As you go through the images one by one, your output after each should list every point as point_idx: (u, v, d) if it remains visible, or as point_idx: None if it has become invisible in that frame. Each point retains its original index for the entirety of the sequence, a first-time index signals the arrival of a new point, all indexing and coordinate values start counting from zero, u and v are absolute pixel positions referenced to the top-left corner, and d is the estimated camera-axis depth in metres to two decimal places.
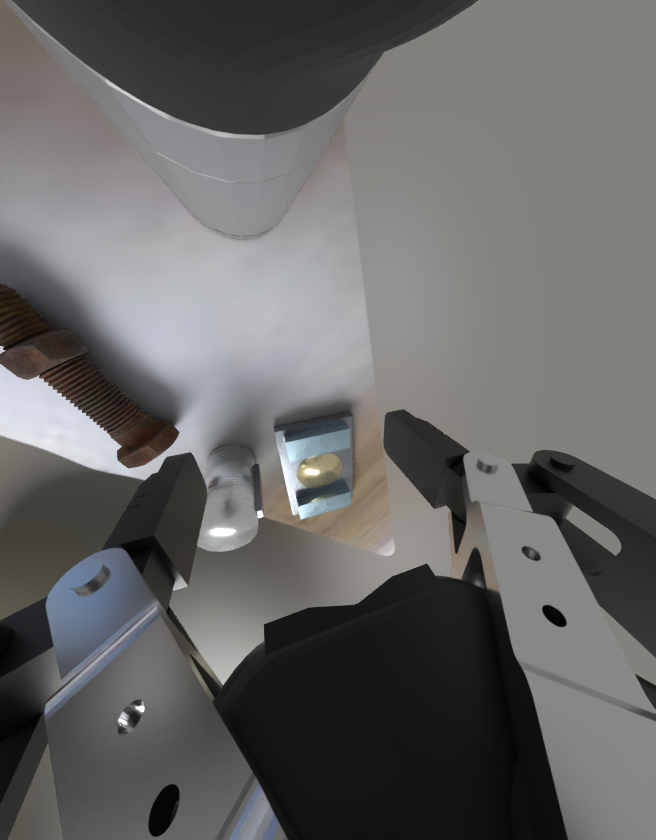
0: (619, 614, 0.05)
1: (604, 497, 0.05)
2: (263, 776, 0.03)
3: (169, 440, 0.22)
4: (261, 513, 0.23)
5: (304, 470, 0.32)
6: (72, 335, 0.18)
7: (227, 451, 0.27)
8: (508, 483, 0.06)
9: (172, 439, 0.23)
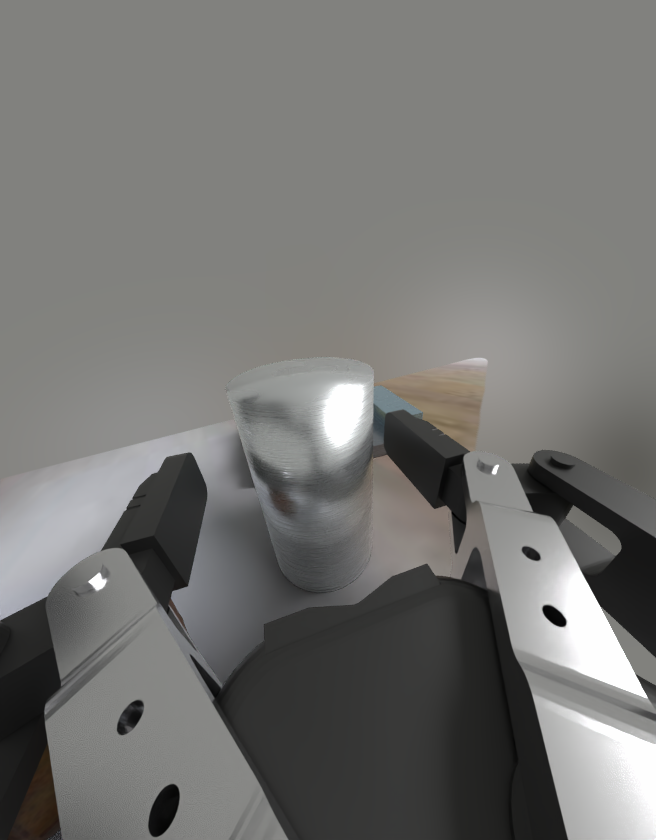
0: (619, 614, 0.05)
1: (604, 497, 0.05)
2: (263, 776, 0.03)
3: None
4: None
5: None
6: None
7: None
8: (508, 483, 0.06)
9: None
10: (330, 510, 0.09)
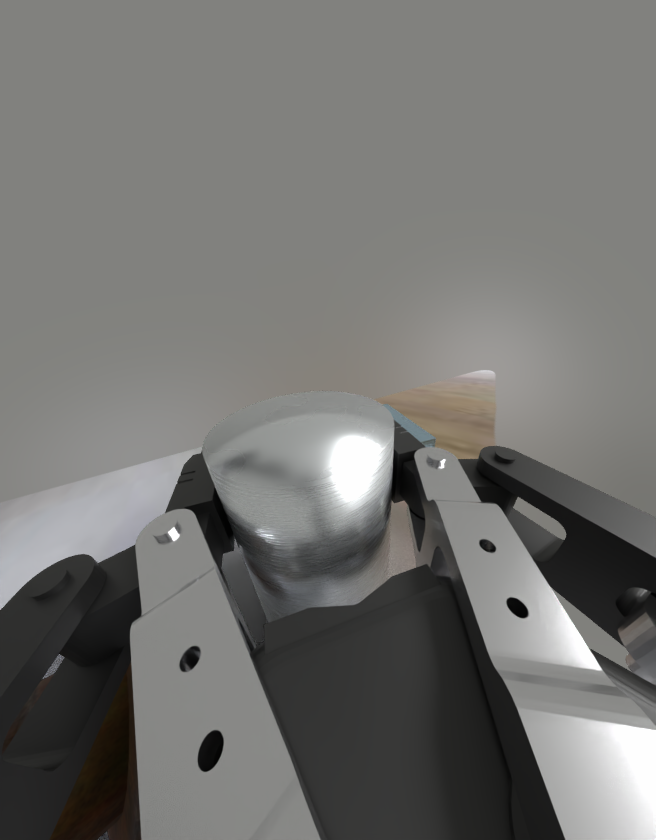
0: (570, 595, 0.06)
1: (546, 488, 0.06)
2: (293, 755, 0.03)
3: None
4: None
5: None
6: None
7: None
8: (450, 476, 0.06)
9: None
10: (340, 599, 0.07)
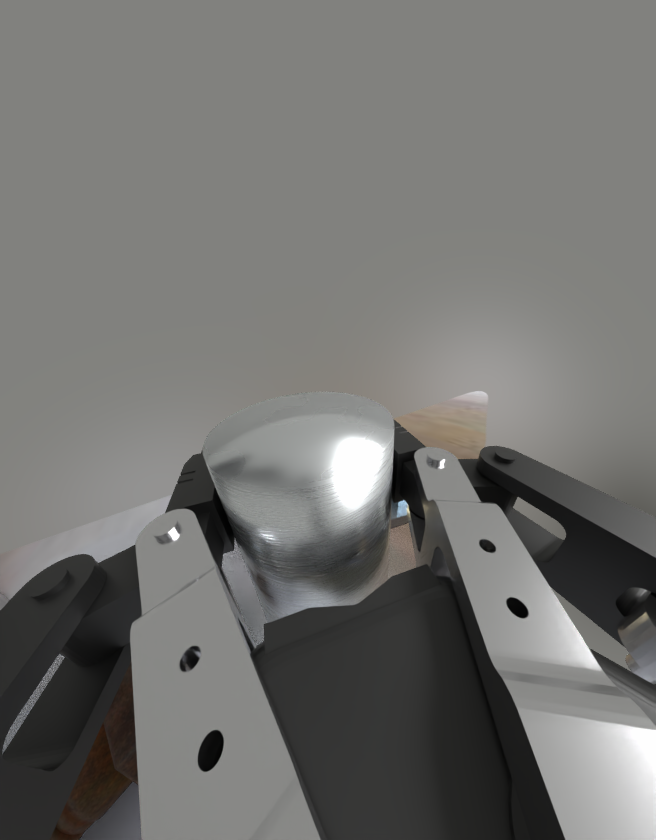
0: (570, 595, 0.06)
1: (546, 488, 0.06)
2: (293, 755, 0.03)
3: None
4: None
5: None
6: None
7: None
8: (449, 476, 0.06)
9: None
10: (340, 600, 0.07)
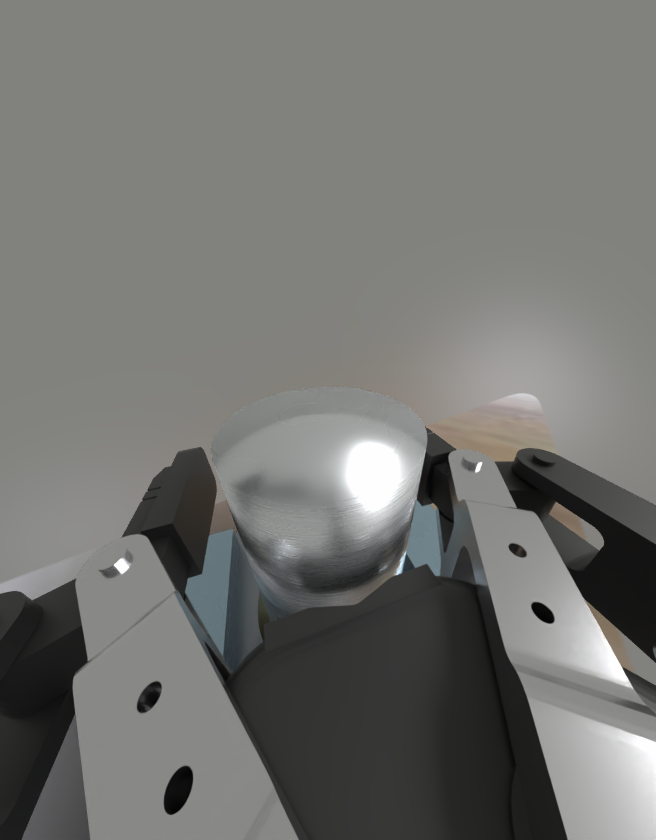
0: (604, 607, 0.05)
1: (586, 493, 0.05)
2: (272, 768, 0.03)
3: None
4: None
5: None
6: None
7: None
8: (490, 480, 0.06)
9: None
10: None
